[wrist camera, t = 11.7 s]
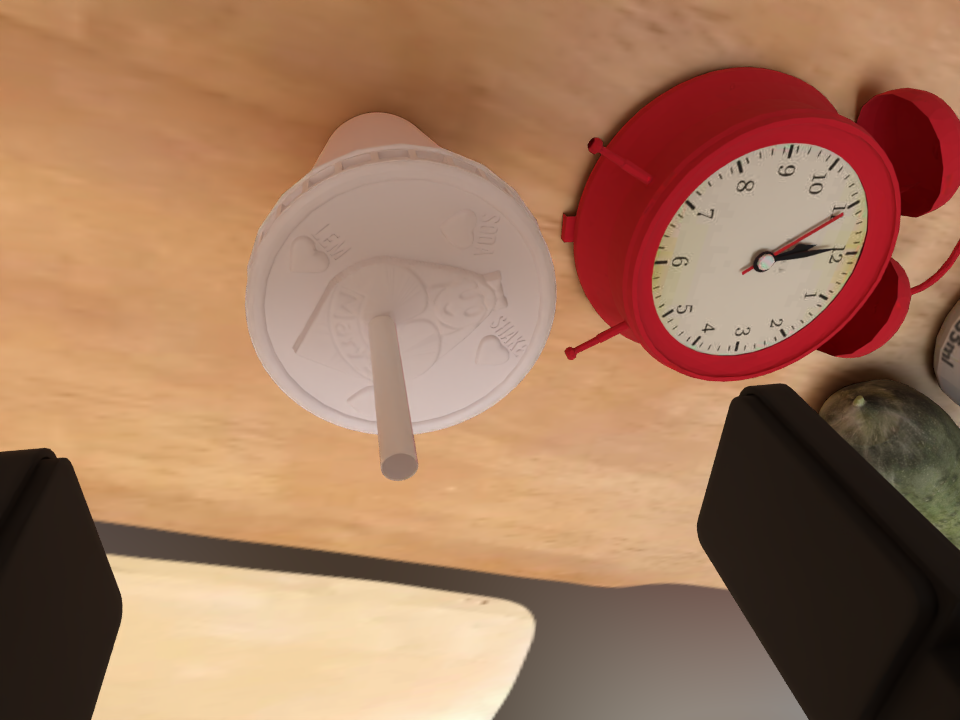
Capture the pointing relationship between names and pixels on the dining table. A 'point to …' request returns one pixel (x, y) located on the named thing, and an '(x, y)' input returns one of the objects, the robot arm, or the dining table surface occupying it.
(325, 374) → the smoothie
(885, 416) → the vegetable
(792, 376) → the dining table surface
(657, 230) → the alarm clock
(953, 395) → the beverage can
